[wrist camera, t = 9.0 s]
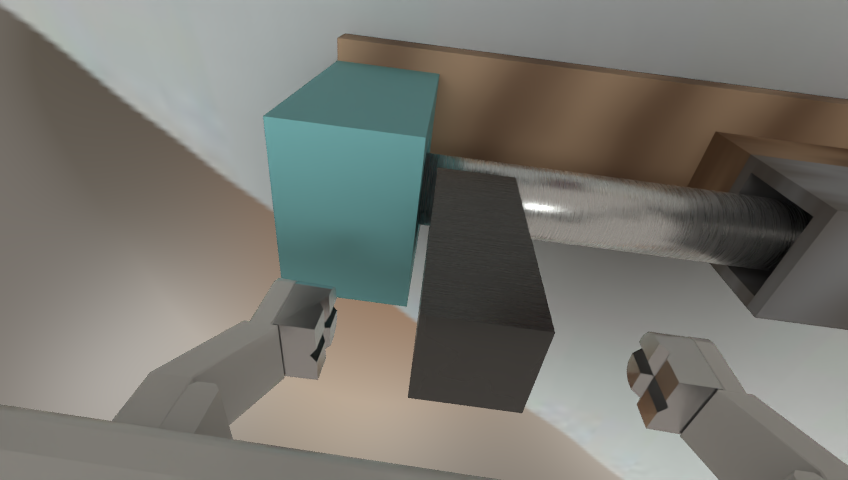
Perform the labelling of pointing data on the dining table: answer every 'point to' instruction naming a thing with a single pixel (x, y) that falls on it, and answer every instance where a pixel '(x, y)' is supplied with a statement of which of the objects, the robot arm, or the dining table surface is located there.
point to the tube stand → (656, 148)
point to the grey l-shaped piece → (518, 270)
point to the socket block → (351, 178)
